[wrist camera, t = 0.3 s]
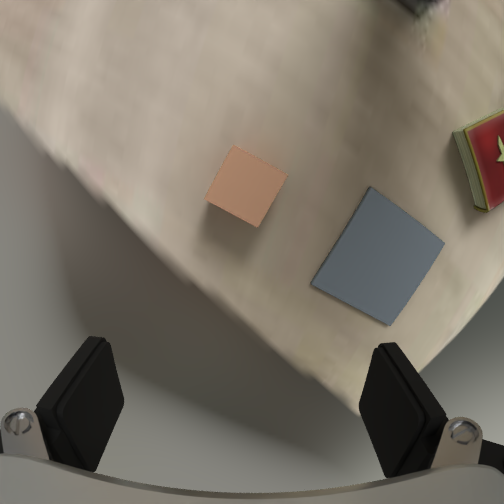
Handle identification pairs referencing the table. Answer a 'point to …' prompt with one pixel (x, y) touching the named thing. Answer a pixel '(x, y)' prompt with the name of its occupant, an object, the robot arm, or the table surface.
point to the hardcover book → (484, 158)
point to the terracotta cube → (245, 186)
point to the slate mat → (378, 259)
